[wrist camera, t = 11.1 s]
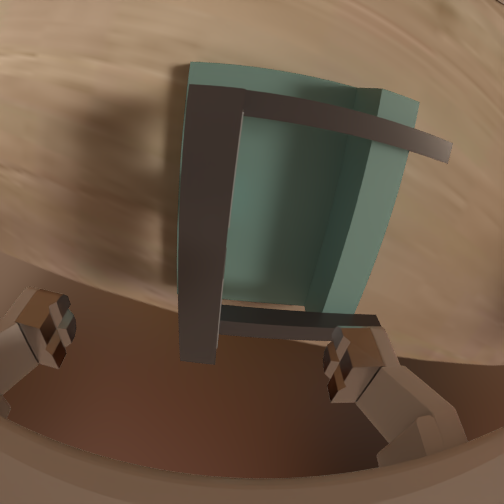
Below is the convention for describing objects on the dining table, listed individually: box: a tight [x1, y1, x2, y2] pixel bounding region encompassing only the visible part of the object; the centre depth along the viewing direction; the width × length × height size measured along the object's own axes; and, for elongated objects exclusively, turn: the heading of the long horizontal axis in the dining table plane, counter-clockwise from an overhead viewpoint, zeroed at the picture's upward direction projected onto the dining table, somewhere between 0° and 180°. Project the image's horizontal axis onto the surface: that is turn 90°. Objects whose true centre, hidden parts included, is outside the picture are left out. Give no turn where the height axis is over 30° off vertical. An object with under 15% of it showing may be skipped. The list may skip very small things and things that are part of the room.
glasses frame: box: [178, 84, 453, 365], centre depth 15 cm, size 14×13×4 cm
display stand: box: [177, 62, 419, 314], centre depth 19 cm, size 17×14×5 cm
